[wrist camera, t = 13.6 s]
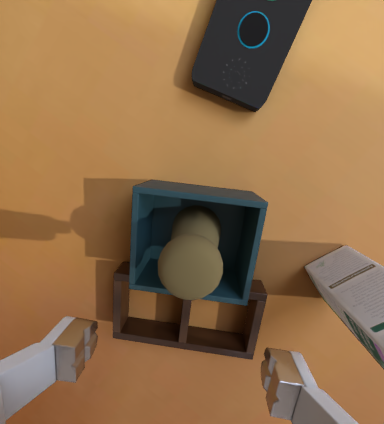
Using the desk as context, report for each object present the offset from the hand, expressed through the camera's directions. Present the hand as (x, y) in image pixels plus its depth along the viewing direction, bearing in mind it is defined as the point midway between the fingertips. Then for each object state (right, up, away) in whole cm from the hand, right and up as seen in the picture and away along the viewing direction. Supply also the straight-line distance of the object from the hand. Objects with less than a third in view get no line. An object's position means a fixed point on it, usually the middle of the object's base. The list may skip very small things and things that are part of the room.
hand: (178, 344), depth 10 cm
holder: (0, -6, +19) cm, 20 cm away
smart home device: (+8, +27, +10) cm, 30 cm away
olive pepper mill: (+1, +4, +16) cm, 17 cm away
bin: (+1, +4, +16) cm, 17 cm away
